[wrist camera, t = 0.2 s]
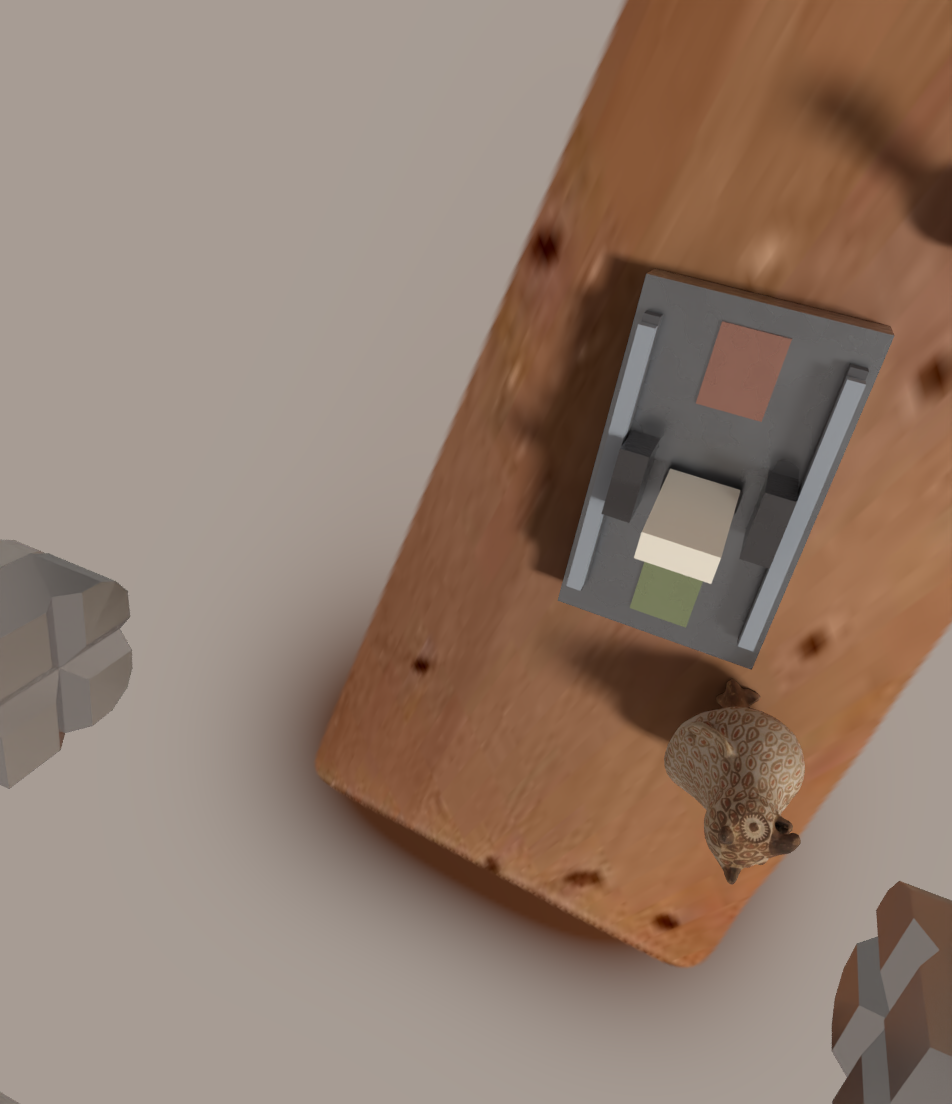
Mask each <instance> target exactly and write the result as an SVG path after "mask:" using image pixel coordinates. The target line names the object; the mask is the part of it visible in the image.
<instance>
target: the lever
mask: <svg viewBox="0 0 952 1104" xmlns="http://www.w3.org/2000/svg"><path fill="white" fill-rule="evenodd" d="M742 495H743V492H740V490H739V489H735V488H732V487H729V486H726V485H722V484H719V483H716V482H713V481H709V480H706V479H703V478H699V477H696V476H693V475H690V474H686V473H683V472H680V471H677V470H673V469H670V470H668V469H667V470H666V472H665V475H664V478H663V481H662V484H661V487H660V493H659V495H658V497H657V499H656V501H655V504H654V506H653V508H652V510H651V512H650V515H649V517H648V519H647V521H646V523H645V526H644V528H643V530H642V533H641V536H640V539H639V542H638V546H637V549H636V552H635V556H634V558H635V559H638V560H641V561H644V562H647V563H650V564H653V565H656V566H659V567H662V568H665V569H668V570H671V571H674V572H677V573H680V574H683V575H686V576H689V577H692V578H695V579H698V580H701V581H704V582H707V583H709V584H711V583H712V581H713V578H714V575H715V573H716V570H717V568H718V565H719V562H720V560H721V557H722V553H723V550H724V546H725V543H726V539H727V536H728V532H729V529H730V525H731V522H732V518H733V515H734V514H736V512H737V509H738V507H739V504H740V501H741V498H742Z"/></svg>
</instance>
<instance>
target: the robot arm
mask: <svg viewBox="0 0 952 1104" xmlns="http://www.w3.org/2000/svg"><path fill="white" fill-rule="evenodd" d="M129 618H130V609H129V600H128V591H127V590H126V589H125V588H123V587H122V586H121V585H120V584H119V583H117V582H116V581H114V580H111V579H109V578H107V577H104V576H102V575H100V574H97V573H95V572H92V571H90V570H87V569H85V568H83V567H80V566H78V565H75V564H73V563H70V562H68V561H66V560H63V559H61V558H58V557H56V556H54V555H51V554H49V553H44V552H41V551H39V550H37V549H34V548H32V547H30V546H27V545H25V544H22V543H20V542H17V541H15V540H0V785H2V786H4V787H6V788H8V789H10V788H11V787H12V786H14V785H15V784H16V783H18V782H19V781H20V780H22V779H23V778H24V777H25V776H27V775H28V774H29V773H31V772H32V771H33V770H35V769H36V768H37V767H39V766H40V765H41V764H43V763H44V762H45V761H47V760H48V759H49V758H51V757H52V756H53V755H55V754H56V753H57V752H59V751H60V750H61V746H62V743H63V739H64V735H65V733H67V732H71V731H75V730H79V729H83V728H86V727H90V726H93V725H94V724H96V723H97V722H98V721H99V720H100V719H102V718H103V717H104V716H106V715H107V714H108V713H109V712H110V711H112V710H113V708H114V707H115V705H116V704H117V702H118V701H119V699H120V698H121V696H122V695H123V693H124V692H125V690H126V689H127V687H128V683H129V678H130V675H131V671H132V649H131V647H130V646H129V644H128V642H127V640H126V639H125V637H124V635H123V633H122V631H121V630H120V628H121V627H122V626H123V625H124V623H125V622H126V621H127V620H128V619H129ZM876 911H877V928H878V937H875V938H872V939H869V940H866V941H863V942H860V943H857V944H856V946H855V948H854V950H853V952H852V954H851V956H850V958H849V960H848V961H847V963H846V965H845V967H844V969H843V972H842V976H841V979H840V983H839V986H838V989H837V993H836V996H835V1001H834V1009H833V1018H832V1052H833V1054H834V1056H835V1058H836V1059H837V1061H838V1063H839V1064H840V1066H841V1068H842V1069H843V1071H844V1073H845V1075H846V1076H847V1078H846V1080H845V1082H844V1083H843V1085H842V1086H841V1088H840V1090H839V1091H838V1093H837V1094H836V1096H835V1098H834V1099H833V1101H832V1104H952V900H949V899H947V898H944V897H941V896H939V895H936V894H933V893H931V892H928V891H925V890H923V889H920V888H917V887H914V886H912V885H909V884H907V883H904V882H901V881H899V882H897V883H896V884H895V885H894V886H893V887H892V888H890V889H889V890H888V892H887V893H886V895H885V896H884V898H883V900H882V901H881V903H880V905H879V907H878V908H877V910H876ZM0 1104H19V1103H18V1102H16V1101H14V1100H13V1099H11V1098H9V1097H8V1096H6V1095H4V1094H3V1093H1V1092H0Z"/></svg>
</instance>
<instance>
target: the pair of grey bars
mask: <svg viewBox="0 0 952 1104" xmlns="http://www.w3.org/2000/svg"><path fill="white" fill-rule="evenodd" d="M662 317H663V314H659V313H655V312H651V311H645V312H644V314H643V317H642V321H641V322H640V323H639V324H638V326H637V330H636V334H635V337H634V341H633V345H632V348H631V352H630V356H629V359H628V363H627V366H626V370H625V374H624V377H623V381H622V385H621V388H620V392H619V396H618V399H617V403H616V407H615V410H614V414H613V417H612V421H611V425H610V428H609V432H608V436H607V439H606V443H605V447H604V450H603V454H602V458H601V461H600V465H599V468H598V472H597V476H596V479H595V483H594V487H593V490H592V494H591V498H590V501H589V505H588V509H587V512H586V516H585V520H584V523H583V527H582V530H581V534H580V538H579V541H578V545H577V549H576V552H575V556H574V560H573V563H572V567H571V571H570V574H569V578H568V581H567V585H566V586H568V587H571V588H573V589H576V590H579V591H580V590H583V588H584V586H585V585H586V581H587V578H588V574H589V571H590V567H591V564H592V560H593V557H594V553H595V550H596V546H597V543H598V539H599V536H600V532H601V529H602V525H603V522H604V518H605V515H603V514H601V513H602V510H603V506H604V503H605V499H606V496H607V492H608V489H609V485H610V482H611V478H612V475H613V471H614V468H615V464H616V461H617V457H618V454H619V450H620V448H621V446H622V445H623V444H624V442H625V441H626V439H627V438H628V435H629V432H630V428H631V425H632V421H633V418H634V414H635V411H636V407H637V404H638V400H639V397H640V393H641V390H642V386H643V383H644V379H645V376H646V372H647V369H648V365H649V362H650V358H651V355H652V351H653V348H654V345H655V341H656V338H657V334H658V331H659V327H660V324H661V320H662ZM868 373H869V369H868V368H866V367H862V366H858V365H855V364H851V363H850V364H849V367H848V369H847V371H846V374H845V376H844V379H843V381H842V384H841V386H840V389H839V391H838V394H837V396H836V398H835V401H834V403H833V406H832V408H831V411H830V413H829V416H828V418H827V421H826V423H825V425H824V428H823V430H822V433H821V435H820V438H819V440H818V443H817V445H816V447H815V450H814V452H813V455H812V457H811V460H810V462H809V465H808V467H807V470H806V472H805V474H804V477H803V479H802V482H801V484H800V487H799V489H798V495H797V503H796V506H795V508H794V511H793V513H792V516H791V518H790V520H789V523H788V525H787V528H786V530H785V533H784V535H783V537H782V540H781V542H780V545H779V547H778V550H777V552H776V555H775V557H774V559H773V562H772V564H771V567H770V569H769V568H766V570H765V573H764V575H763V577H762V580H761V582H760V585H759V587H758V590H757V592H756V595H755V597H754V600H753V602H752V604H751V607H750V609H749V612H748V614H747V617H746V619H745V622H744V624H743V626H742V629H741V631H740V634H739V636H738V640H737V645H738V646H739V647H741V648H744V649H747V650H750V651H754V649H755V646H756V644H757V641H758V639H759V637H760V634H761V632H762V630H763V627H764V625H765V623H766V620H767V618H768V615H769V613H770V611H771V608H772V606H773V604H774V601H775V599H776V597H777V594H778V592H779V589H780V587H781V585H782V582H783V580H784V578H785V575H786V573H787V571H788V568H789V566H790V563H791V561H792V559H793V556H794V554H795V552H796V549H797V547H798V545H799V542H800V540H801V537H802V535H803V533H804V530H805V528H806V526H807V523H808V521H809V519H810V516H811V514H812V511H813V509H814V507H815V504H816V502H817V500H818V497H819V495H820V493H821V490H822V488H823V485H824V483H825V481H826V478H827V476H828V474H829V471H830V469H831V467H832V464H833V462H834V459H835V457H836V455H837V452H838V450H839V448H840V445H841V443H842V441H843V438H844V436H845V433H846V431H847V429H848V426H849V424H850V422H851V419H852V417H853V415H854V412H855V410H856V407H857V405H858V403H859V400H860V398H861V396H862V393H863V391H864V389H865V386H866V381H865V380H866V378H867V375H868Z"/></svg>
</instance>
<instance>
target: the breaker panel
mask: <svg viewBox="0 0 952 1104" xmlns="http://www.w3.org/2000/svg"><path fill="white" fill-rule="evenodd" d="M645 311H651V312H655V313H659V314H663V317H662V320H661V324H660V327H659V331H658V334H657V338H656V341H655V345H654V348H653V351H652V355H651V358H650V362H649V365H648V369H647V372H646V376H645V379H644V383H643V386H642V390H641V393H640V397H639V400H638V404H637V407H636V411H635V414H634V418H633V421H632V425H631V428H630V432H629V435H628V438H627V439H626V441H625V442H624V444H623V445H622V446H621V448H620V450H619V454H618V457H617V461H616V464H615V468H614V471H613V475H612V478H611V482H610V485H609V489H608V492H607V496H606V499H605V503H604V506H603V510H602V513H601V514H603V515H605V518H604V522H603V525H602V529H601V532H600V536H599V539H598V543H597V546H596V550H595V553H594V557H593V560H592V564H591V567H590V571H589V574H588V578H587V581H586V585H585V586H584V588H583V590H580V591H579V590H576V589H573V588H571V587H568V586H566V585H567V581H568V578H569V574H570V571H571V567H572V563H573V560H574V556H575V552H576V549H577V545H578V541H579V538H580V534H581V530H582V527H583V523H584V520H585V516H586V512H587V509H588V505H589V501H590V498H591V494H592V490H593V487H594V483H595V479H596V476H597V472H598V468H599V465H600V461H601V458H602V454H603V450H604V447H605V443H606V439H607V436H608V432H609V428H610V425H611V421H612V417H613V414H614V410H615V407H616V403H617V399H618V396H619V392H620V388H621V385H622V381H623V377H624V374H625V370H626V366H627V363H628V359H629V356H630V352H631V348H632V345H633V341H634V337H635V334H636V330H637V326H638V324H639V323H640V322H641V321H642V317H643V314H644V312H645ZM893 338H894V333H893V331H892V329H891V327H890V326H886V325H882V324H878V323H874V322H870V321H866V320H862V319H858V318H854V317H850V316H846V315H842V314H838V313H834V312H830V311H826V310H822V309H818V308H814V307H809V306H805V305H801V304H797V303H793V302H789V301H785V300H781V299H777V298H773V297H769V296H765V295H761V294H757V293H753V292H749V291H745V290H741V289H737V288H733V287H729V286H725V285H720V284H716V283H712V282H708V281H704V280H700V279H696V278H692V277H688V276H684V275H680V274H676V273H672V272H668V271H664V270H660V269H656V268H655V269H653V270H652V271H650V272H648V273H647V274H646V277H645V281H644V284H643V288H642V292H641V295H640V299H639V303H638V306H637V310H636V314H635V317H634V321H633V325H632V328H631V332H630V336H629V340H628V343H627V347H626V351H625V354H624V358H623V362H622V365H621V369H620V373H619V376H618V380H617V384H616V387H615V391H614V395H613V399H612V402H611V406H610V410H609V413H608V417H607V421H606V424H605V428H604V432H603V435H602V439H601V443H600V446H599V450H598V454H597V458H596V461H595V465H594V469H593V472H592V476H591V480H590V483H589V487H588V491H587V494H586V498H585V502H584V505H583V509H582V513H581V517H580V520H579V524H578V528H577V531H576V535H575V539H574V542H573V546H572V550H571V553H570V557H569V561H568V564H567V568H566V572H565V576H564V579H563V583H562V587H561V590H560V594H559V598H558V601H561V602H563V603H566V604H569V605H572V606H575V607H577V608H580V609H583V610H586V611H589V612H591V613H594V614H597V615H600V616H603V617H605V618H608V619H611V620H614V621H617V622H620V623H622V624H625V625H628V626H631V627H634V628H636V629H639V630H642V631H645V632H648V633H650V634H653V635H656V636H659V637H662V638H664V639H667V640H670V641H673V642H676V643H678V644H681V645H684V646H687V647H690V648H692V649H695V650H698V651H701V652H704V653H706V654H709V655H712V656H715V657H718V658H720V659H723V660H726V661H729V662H732V663H734V664H737V665H740V666H743V667H746V668H749V669H751V670H752V668H753V665H754V663H755V661H756V658H757V656H758V654H759V651H760V649H761V646H762V644H763V642H764V639H765V637H766V635H767V632H768V630H769V628H770V625H771V623H772V621H773V618H774V616H775V614H776V611H777V609H778V607H779V604H780V602H781V600H782V597H783V595H784V593H785V590H786V588H787V586H788V583H789V581H790V579H791V576H792V574H793V572H794V569H795V567H796V565H797V562H798V560H799V558H800V555H801V553H802V551H803V548H804V546H805V544H806V541H807V539H808V537H809V534H810V532H811V530H812V527H813V525H814V523H815V520H816V518H817V515H818V513H819V511H820V508H821V506H822V504H823V501H824V499H825V497H826V494H827V492H828V490H829V487H830V485H831V483H832V480H833V478H834V476H835V473H836V471H837V469H838V466H839V464H840V462H841V459H842V457H843V455H844V452H845V450H846V448H847V445H848V443H849V441H850V438H851V436H852V434H853V431H854V429H855V427H856V424H857V422H858V420H859V417H860V415H861V413H862V410H863V408H864V406H865V403H866V401H867V399H868V396H869V394H870V391H871V389H872V387H873V384H874V382H875V380H876V377H877V375H878V373H879V370H880V368H881V366H882V363H883V361H884V359H885V356H886V354H887V352H888V349H889V347H890V345H891V342H892V340H893ZM850 363H851V364H855V365H858V366H862V367H866V368H868V369H869V373H868V375H867V378H866V380H865V381H866V386H865V389H864V391H863V393H862V396H861V398H860V400H859V403H858V405H857V407H856V410H855V412H854V415H853V417H852V419H851V422H850V424H849V426H848V429H847V431H846V433H845V436H844V438H843V441H842V443H841V445H840V448H839V450H838V452H837V455H836V457H835V459H834V462H833V464H832V467H831V469H830V471H829V474H828V476H827V478H826V481H825V483H824V485H823V488H822V490H821V493H820V495H819V497H818V500H817V502H816V504H815V507H814V509H813V511H812V514H811V516H810V519H809V521H808V523H807V526H806V528H805V530H804V533H803V535H802V537H801V540H800V542H799V545H798V547H797V549H796V552H795V554H794V556H793V559H792V561H791V563H790V566H789V568H788V571H787V573H786V575H785V578H784V580H783V582H782V585H781V587H780V589H779V592H778V594H777V597H776V599H775V601H774V604H773V606H772V608H771V611H770V613H769V615H768V618H767V620H766V623H765V625H764V627H763V630H762V632H761V634H760V637H759V639H758V641H757V644H756V646H755V649H754V651H750V650H747V649H744V648H741V647H739V646H738V645H737V640H738V636H739V634H740V631H741V629H742V626H743V624H744V622H745V619H746V617H747V614H748V612H749V609H750V607H751V604H752V602H753V600H754V597H755V595H756V592H757V590H758V587H759V585H760V582H761V580H762V577H763V575H764V573H765V570H766V568H769V569H770V567H771V564H772V562H773V559H774V557H775V555H776V552H777V550H778V547H779V545H780V542H781V540H782V537H783V535H784V533H785V530H786V528H787V525H788V523H789V520H790V518H791V516H792V513H793V511H794V508H795V506H796V503H797V495H798V489H799V487H800V484H801V482H802V479H803V477H804V474H805V472H806V470H807V467H808V465H809V462H810V460H811V457H812V455H813V452H814V450H815V447H816V445H817V443H818V440H819V438H820V435H821V433H822V430H823V428H824V425H825V423H826V421H827V418H828V416H829V413H830V411H831V408H832V406H833V403H834V401H835V398H836V396H837V394H838V391H839V389H840V386H841V384H842V381H843V379H844V376H845V374H846V371H847V369H848V367H849V364H850ZM667 469H668V470H670V469H673V470H677V471H680V472H683V473H686V474H690V475H693V476H696V477H699V478H703V479H706V480H709V481H713V482H716V483H719V484H722V485H726V486H729V487H732V488H735V489H739V490H740V492H743V495H742V498H741V501H740V504H739V507H738V509H737V512H736V514H734V515H733V518H732V522H731V525H730V529H729V532H728V536H727V539H726V543H725V546H724V550H723V553H722V557H721V560H720V562H719V565H718V568H717V570H716V573H715V575H714V578H713V581H712V583H711V584H709V583H707V582H704V581H701V580H698V579H695V578H692V577H689V576H686V575H683V574H680V573H677V572H674V571H671V570H668V569H665V568H662V567H659V566H656V565H653V564H650V563H647V562H644V561H641V560H638V559H635V558H634V556H635V552H636V549H637V546H638V542H639V539H640V536H641V533H642V530H643V528H644V526H645V523H646V521H647V519H648V517H649V515H650V512H651V510H652V508H653V506H654V504H655V501H656V499H657V497H658V495H659V493H660V487H661V484H662V481H663V478H664V475H665V472H666V470H667Z"/></svg>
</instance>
